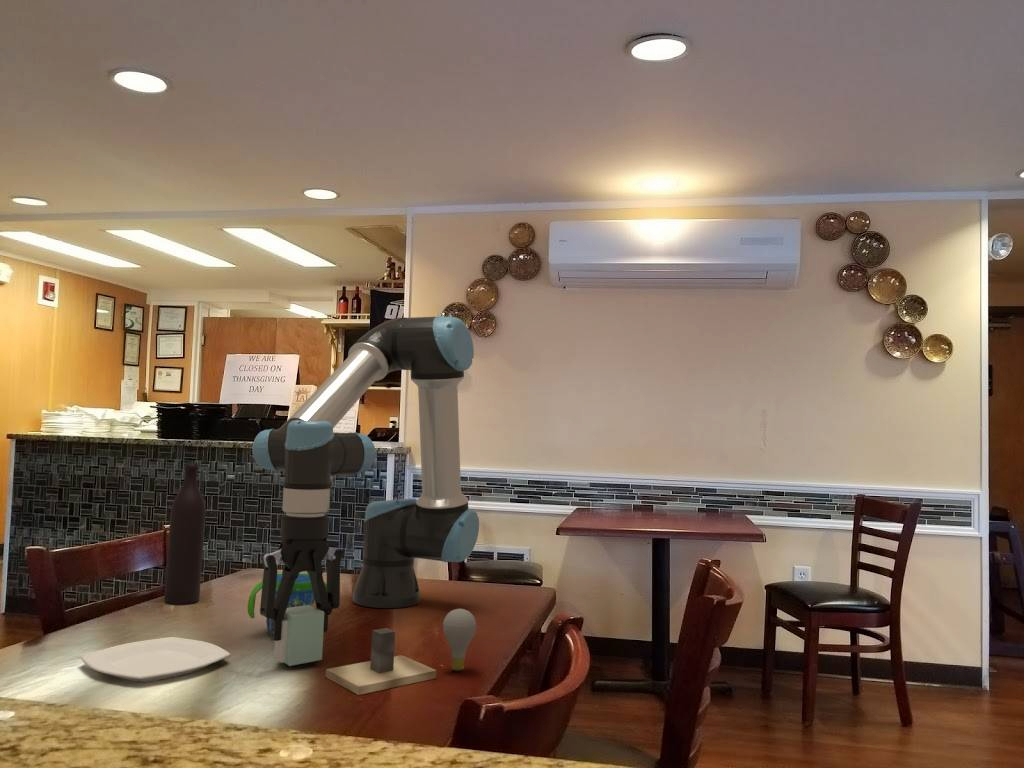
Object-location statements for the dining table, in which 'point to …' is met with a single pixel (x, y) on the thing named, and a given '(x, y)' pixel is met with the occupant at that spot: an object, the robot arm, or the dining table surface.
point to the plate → (155, 658)
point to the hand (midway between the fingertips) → (298, 656)
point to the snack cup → (299, 596)
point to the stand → (380, 668)
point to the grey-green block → (304, 634)
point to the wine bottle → (185, 542)
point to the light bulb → (459, 634)
